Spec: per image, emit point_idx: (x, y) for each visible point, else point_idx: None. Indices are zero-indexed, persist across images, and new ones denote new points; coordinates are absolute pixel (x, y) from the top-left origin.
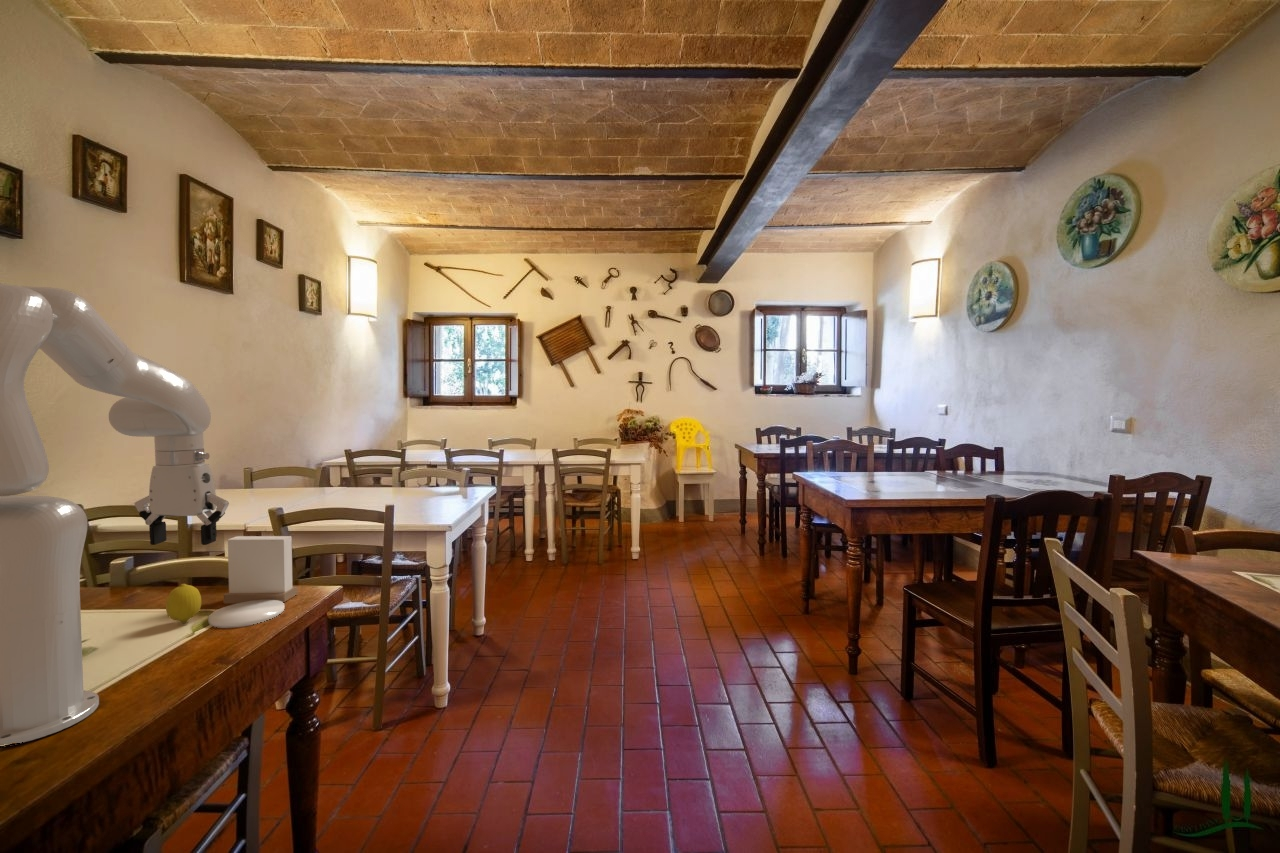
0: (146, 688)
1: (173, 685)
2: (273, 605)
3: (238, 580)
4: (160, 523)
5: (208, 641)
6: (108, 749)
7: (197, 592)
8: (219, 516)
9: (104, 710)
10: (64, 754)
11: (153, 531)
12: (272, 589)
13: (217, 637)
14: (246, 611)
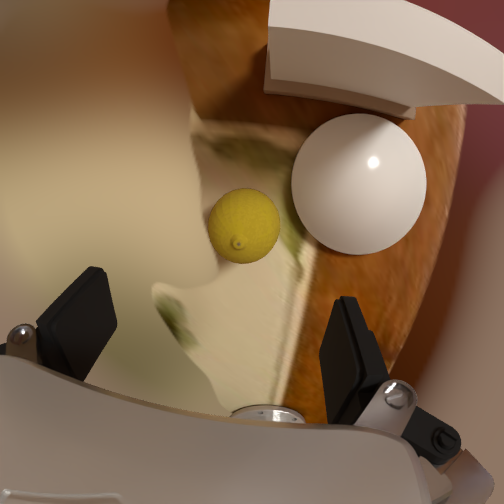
0: None
1: None
2: (404, 163)
3: (301, 75)
4: (56, 345)
5: None
6: None
7: (274, 230)
8: (425, 429)
9: (310, 417)
10: None
11: (90, 364)
12: (387, 98)
13: (350, 287)
14: (364, 192)
